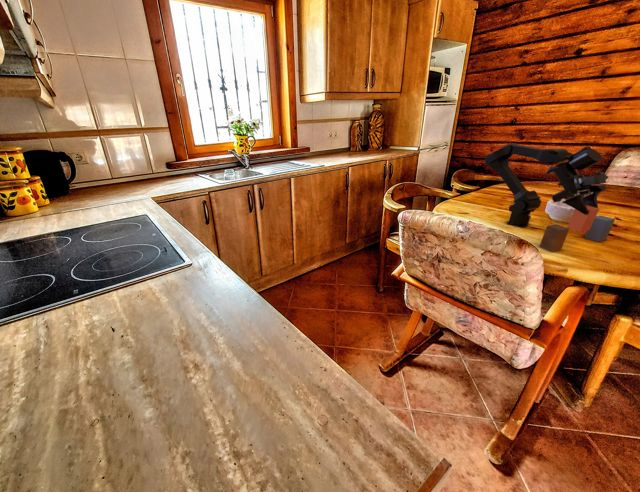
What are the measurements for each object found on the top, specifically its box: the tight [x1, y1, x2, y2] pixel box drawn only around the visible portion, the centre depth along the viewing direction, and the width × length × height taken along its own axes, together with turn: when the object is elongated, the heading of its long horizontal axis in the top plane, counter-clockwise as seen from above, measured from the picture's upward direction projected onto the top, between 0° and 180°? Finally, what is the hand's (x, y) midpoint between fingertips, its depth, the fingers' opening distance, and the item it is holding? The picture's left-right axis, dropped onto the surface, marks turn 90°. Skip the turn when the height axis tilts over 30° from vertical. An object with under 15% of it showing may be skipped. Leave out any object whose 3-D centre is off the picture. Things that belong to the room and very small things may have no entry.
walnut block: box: [539, 223, 571, 253], centre depth 104 cm, size 4×4×9 cm
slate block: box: [583, 215, 616, 243], centre depth 109 cm, size 4×4×9 cm
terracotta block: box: [566, 205, 600, 233], centre depth 104 cm, size 4×4×9 cm
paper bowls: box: [544, 198, 575, 224], centre depth 128 cm, size 15×15×8 cm
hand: (591, 213), depth 101 cm, fingers closed on terracotta block, 4 cm apart
